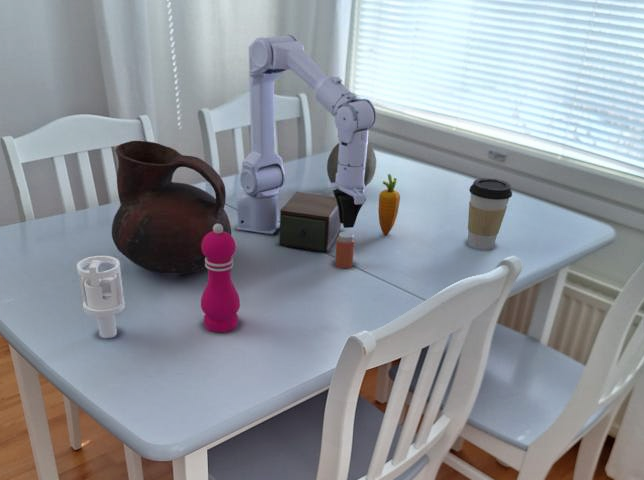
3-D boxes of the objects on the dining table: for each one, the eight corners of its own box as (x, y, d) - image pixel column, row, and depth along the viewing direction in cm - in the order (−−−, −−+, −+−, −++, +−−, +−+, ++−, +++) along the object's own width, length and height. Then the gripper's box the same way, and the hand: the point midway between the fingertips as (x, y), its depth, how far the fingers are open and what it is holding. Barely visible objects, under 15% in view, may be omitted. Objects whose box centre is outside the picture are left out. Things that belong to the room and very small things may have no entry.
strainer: (83, 343, 119) (70, 266, 110) (93, 323, 124) (82, 248, 116) (123, 344, 119) (113, 267, 110) (131, 324, 125) (123, 250, 116)
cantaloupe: (315, 194, 189) (317, 140, 180) (341, 181, 198) (345, 130, 190) (358, 205, 182) (362, 150, 174) (383, 192, 192) (389, 139, 184)
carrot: (394, 240, 163) (401, 180, 155) (374, 238, 164) (380, 177, 155) (396, 233, 167) (403, 173, 159) (376, 230, 168) (382, 171, 159)
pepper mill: (202, 315, 129) (197, 216, 118) (240, 314, 129) (238, 216, 118) (200, 334, 123) (195, 232, 112) (240, 334, 123) (238, 232, 112)
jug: (200, 300, 134) (193, 177, 120) (93, 276, 140) (75, 157, 127) (251, 253, 153) (250, 142, 140) (155, 234, 160) (145, 127, 146)
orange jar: (333, 266, 149) (335, 236, 145) (337, 259, 152) (339, 230, 148) (350, 269, 148) (353, 239, 144) (354, 262, 151) (356, 232, 148)
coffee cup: (504, 241, 165) (517, 181, 157) (496, 255, 158) (509, 194, 149) (465, 233, 168) (475, 174, 160) (455, 247, 161) (466, 186, 153)
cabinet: (326, 252, 156) (329, 217, 151) (279, 245, 158) (280, 210, 153) (340, 231, 167) (342, 197, 162) (295, 224, 169) (296, 191, 164)
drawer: (322, 252, 153) (323, 224, 149) (278, 245, 155) (279, 217, 152) (335, 230, 164) (337, 204, 161) (295, 224, 166) (296, 198, 163)
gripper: (323, 153, 143) (320, 213, 150) (343, 174, 131) (338, 239, 138) (355, 152, 144) (350, 212, 152) (377, 173, 132) (370, 237, 140)
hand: (346, 225), depth 145 cm, fingers closed
